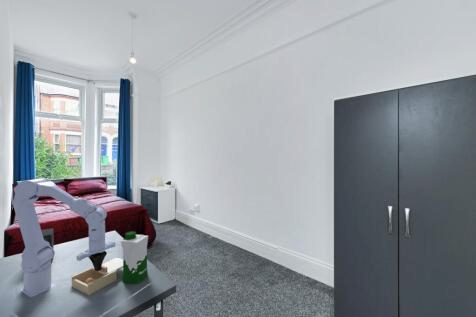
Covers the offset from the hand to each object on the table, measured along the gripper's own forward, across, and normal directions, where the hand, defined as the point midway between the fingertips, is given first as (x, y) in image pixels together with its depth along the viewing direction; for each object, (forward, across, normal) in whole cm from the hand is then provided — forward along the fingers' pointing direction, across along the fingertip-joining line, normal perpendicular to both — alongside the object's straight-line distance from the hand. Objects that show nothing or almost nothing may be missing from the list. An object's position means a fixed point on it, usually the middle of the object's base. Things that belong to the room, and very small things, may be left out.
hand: (97, 270), depth 90 cm
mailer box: (+5, -1, 0) cm, 6 cm away
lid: (+2, +6, 0) cm, 6 cm away
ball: (+5, -3, 0) cm, 6 cm away
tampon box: (+6, -2, +44) cm, 44 cm away
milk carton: (+6, +9, -12) cm, 16 cm away
